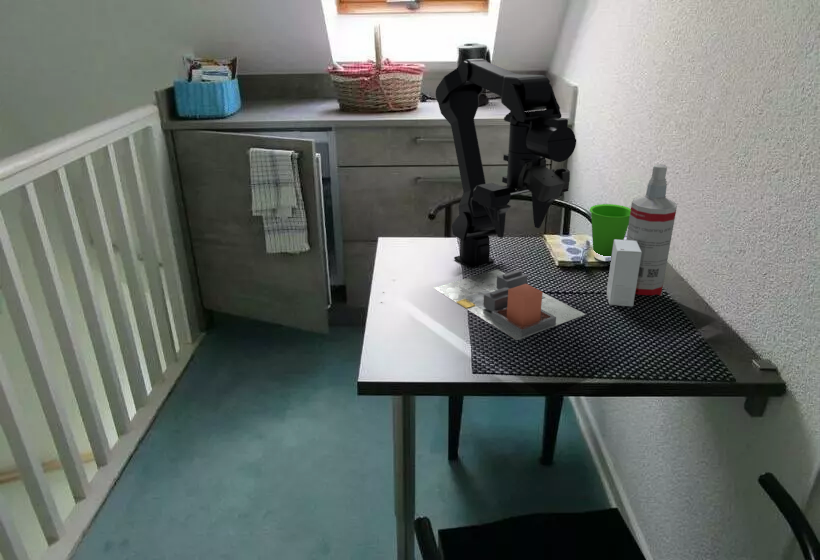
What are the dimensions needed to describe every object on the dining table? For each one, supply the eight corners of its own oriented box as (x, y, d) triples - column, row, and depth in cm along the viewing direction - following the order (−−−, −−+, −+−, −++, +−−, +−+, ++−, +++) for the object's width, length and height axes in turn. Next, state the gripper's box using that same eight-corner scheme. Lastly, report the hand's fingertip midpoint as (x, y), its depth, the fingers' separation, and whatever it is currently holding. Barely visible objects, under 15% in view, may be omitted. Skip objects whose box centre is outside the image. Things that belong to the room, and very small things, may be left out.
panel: (433, 295, 116) (433, 281, 115) (496, 276, 124) (497, 262, 122) (516, 348, 97) (517, 332, 96) (584, 321, 105) (586, 306, 104)
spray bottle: (657, 305, 110) (681, 172, 100) (616, 297, 113) (634, 168, 103) (663, 289, 117) (685, 162, 106) (623, 282, 120) (641, 159, 109)
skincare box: (632, 313, 108) (642, 252, 103) (608, 311, 108) (616, 250, 103) (628, 299, 113) (637, 239, 108) (605, 297, 114) (612, 238, 109)
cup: (586, 264, 128) (592, 216, 124) (582, 249, 136) (587, 203, 132) (630, 267, 127) (637, 217, 122) (623, 251, 135) (630, 204, 130)
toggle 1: (483, 306, 107) (484, 291, 106) (504, 299, 109) (505, 284, 108) (494, 313, 105) (494, 297, 103) (515, 306, 107) (516, 290, 106)
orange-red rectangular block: (522, 329, 100) (524, 297, 97) (506, 320, 103) (508, 289, 100) (539, 323, 102) (542, 291, 99) (523, 314, 105) (526, 283, 102)
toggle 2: (496, 288, 114) (497, 273, 113) (516, 281, 116) (517, 267, 115) (506, 293, 112) (507, 278, 110) (526, 287, 114) (527, 272, 113)
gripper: (515, 166, 95) (509, 256, 102) (596, 151, 104) (586, 235, 111) (472, 154, 104) (470, 237, 111) (550, 140, 113) (544, 219, 120)
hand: (519, 232), depth 113 cm, fingers open, 9 cm apart
